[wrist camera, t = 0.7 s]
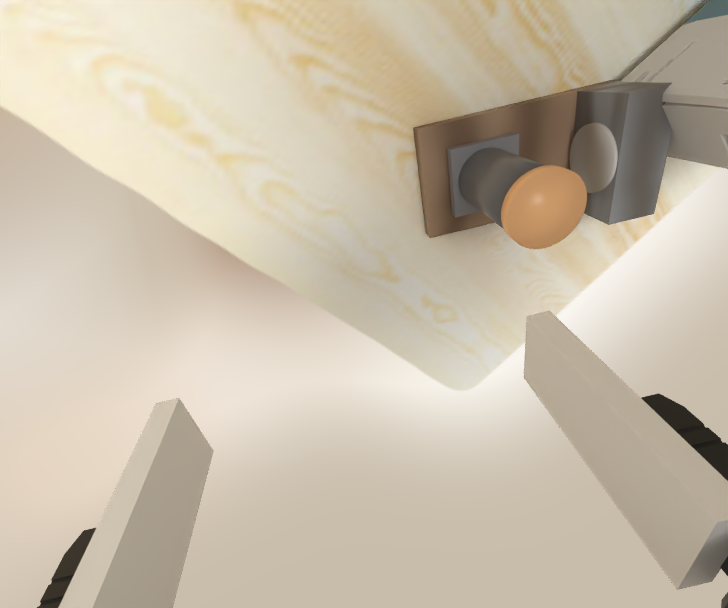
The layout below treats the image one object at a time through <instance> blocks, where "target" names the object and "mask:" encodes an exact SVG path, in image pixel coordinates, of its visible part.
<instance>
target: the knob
mask: <svg viewBox="0 0 728 608" xmlns="http://www.w3.org/2000/svg"><path fill="white" fill-rule="evenodd" d="M447 155H448V168H449V181H450V194H451V207H452V215H453V216H455V217H460V216H464V215H468V214H472V213H476V212H480V211H481V212H482V213H484V214H485V215H486V216H488V217H489V218H490V219H492V220H493V221H494V222H496V223H497V224H498V225H499V226H501V227H502V228H503V229H504V230H505V232H506V233H507V234H508V236H509V237H511V238H512V239H513V240H514V241H516V242H517V243H518V244H520V245H521V246H524V247H526V248H530V249H541V248H546V247H549V246H552V245H554V244H556V243H558V242H560V241H561V240H563V239H564V238H565V237H566V236H568V235H569V234H570V233H571V232H572V231H573V230H574V228H575V227H576V226H577V224H578V223H579V221H580V220H581V218H582V216H583V213H584V211H585V207H586V203H587V191H586V186H585V184H584V182H583V180H582V179H581V177H580V176H579V175H578V174H576V173H575V172H573V171H571V170H569V169H566V168H563V167H560V166H556V165H544V164H541V163H538V162H535V161H532V160H530V159H527V158H524V157H521V156H519V134H518V133H514V132H513V133H509V134H505V135H501V136H497V137H493V138H488V139H484V140H480V141H476V142H472V143H468V144H464V145H459V146H455V147H451V148H447Z"/></svg>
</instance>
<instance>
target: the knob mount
mask: <svg viewBox="0 0 728 608" xmlns="http://www.w3.org/2000/svg"><path fill="white" fill-rule="evenodd" d="M671 84H672V83H655V82H624V81H621V80H610V81H606V82H602V83H598V84H594V85H589V86H585V87H581V88H577V89H573V90H569V91H564V92H560V93H556V94H552V95H548V96H544V97H539V98H535V99H531V100H527V101H523V102H519V103H514V104H510V105H506V106H502V107H498V108H494V109H489V110H485V111H481V112H477V113H473V114H469V115H464V116H460V117H456V118H452V119H448V120H444V121H439V122H435V123H431V124H427V125H423V126H419V127H414V137H415V145H416V153H417V162H418V170H419V179H420V187H421V195H422V204H423V212H424V221H425V229H426V233H427V235H428V236H429V237H430V238H432V237H436V236H440V235H445V234H449V233H453V232H457V231H461V230H465V229H469V228H474V227H478V226H482V225H486V224H490V223H494V221H493V220H492V219H490V218H489V217H488V216H486V215H485V214H484V213H482V212H481V211H480V212H476V213H472V214H468V215H464V216H460V217H455V216H453V215H452V207H451V194H450V181H449V168H448V155H447V148H451V147H455V146H459V145H464V144H468V143H472V142H476V141H480V140H484V139H488V138H493V137H497V136H501V135H505V134H509V133H513V132H514V133H518V134H519V156H521V157H524V158H527V159H530V160H532V161H535V162H538V163H541V164H544V165H556V166H560V167H563V168H566V169H569V170H571V171H573V172H575V173H576V174H578V175H579V176H580V177H581V179H582V180H583V182H584V184H585V186H586V191H587V203H586V207H585V211H584V213H585V214H587V215H589V216H591V217H593V218H595V219H598V220H600V221H602V222H604V223H606V224H608V225H610V224H614V223H618V222H622V221H626V220H630V219H635V218H639V217H643V216H647V215H651V214H654V211H655V207H656V202H657V198H658V193H659V189H660V184H661V180H662V175H663V171H664V166H665V162H666V157H667V153H668V148H669V144H670V139H671V134H672V128H671V125H670V123H669V121H668V118H667V116H666V114H665V111H664V109H663V107H662V106H663V105H664V104H665V103H666V102H662V98H663V93H664V92H665V90H666V89H667V88H668V87H669V86H670V85H671Z"/></svg>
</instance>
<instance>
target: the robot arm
mask: <svg viewBox="0 0 728 608" xmlns="http://www.w3.org/2000/svg"><path fill="white" fill-rule="evenodd" d="M524 379H525V380H526V381H527V383H528V384H529V385H530V387H531V388H532V390H533V391H534V392H535V394H536V395H537V396H538V398H539V399H540V401H541V402H542V403H543V405H544V406H545V408H546V409H547V410H548V411H549V413H550V415H551V416H552V417H553V419H554V420H555V421H556V423H557V424H558V425H559V427H560V428H561V430H562V431H563V432H564V434H565V435H566V437H567V438H568V439H569V441H570V442H571V443H572V445H573V446H574V448H575V449H576V450H577V452H578V453H579V455H580V456H581V457H582V459H583V460H584V462H585V463H586V464H587V466H588V467H589V468H590V470H591V471H592V473H593V474H594V475H595V477H596V478H597V480H598V481H599V482H600V484H601V485H602V486H603V488H604V489H605V490H606V492H607V493H608V495H609V496H610V497H611V499H612V500H613V502H614V503H615V504H616V506H617V507H618V509H619V510H620V511H621V513H622V514H623V515H624V517H625V518H626V519H627V521H628V522H629V524H630V525H631V527H632V528H633V529H634V531H635V532H636V533H637V535H638V536H639V538H640V539H641V540H642V542H643V543H644V544H645V546H646V547H647V549H648V550H649V551H650V553H651V554H652V555H653V557H654V558H655V560H656V561H657V562H658V564H659V565H660V567H661V568H662V569H663V571H664V572H665V573H666V575H667V576H668V578H669V579H670V580H671V582H672V583H673V584H674V586H675V587H676V589H677V590H678V589H682V588H687V587H691V586H695V585H699V584H703V583H708V582H712V581H713V579H714V578H715V577H716V575H717V574H718V572H719V570H720V569H722V570H723V571H724V572H725V573H726V575H727V576H728V445H727V444H726V443H722V441H721V439H720V438H719V437H718V436H717V435H716V434H715V433H714V432H712V431H711V430H710V429H709V428H705V426H704V424H703V423H702V422H701V421H700V420H699V419H697V418H696V417H695V416H694V415H693V414H692V413H691V412H689V411H688V410H687V409H686V408H685V407H684V406H682V405H680V404H678V403H676V402H674V401H672V400H670V399H668V398H666V397H664V396H663V395H660V394H655V395H651V396H646V397H642V398H640V397H639V396H638V395H637V394H636V393H635V392H634V391H633V390H632V389H631V388H630V387H629V386H628V385H627V384H626V383H625V382H624V381H622V380H621V379H620V378H619V377H618V376H617V375H616V374H615V373H614V372H613V371H612V370H611V369H610V368H609V367H608V366H607V365H606V364H605V363H604V362H603V361H601V359H599V358H598V357H597V356H596V355H595V354H594V353H593V352H592V351H591V350H590V349H589V348H588V347H587V346H586V345H585V344H584V343H583V342H582V341H581V340H580V339H579V338H577V337H576V336H575V335H574V334H573V333H572V332H571V331H570V330H569V329H568V328H567V327H566V326H565V325H564V324H563V323H562V322H561V321H559V319H558V318H557V317H556V316H554V315H553V314H552V313H551V312H550V311H547V312H543V313H538V314H534V315H530V316H527V323H526V344H525V364H524ZM212 454H213V449H212V448H211V446H210V445H209V443H208V442H207V440H206V439H205V437H204V435H203V434H202V432H201V431H200V429H199V428H198V426H197V425H196V423H195V422H194V420H193V419H192V417H191V416H190V414H189V412H188V411H187V409H186V408H185V406H184V405H183V403H182V402H181V400H180V398H176V399H173V400H168V401H164V402H159V403H156V404H155V406H154V409H153V411H152V413H151V415H150V418H149V419H148V421H147V423H146V425H145V427H144V430H143V432H142V434H141V436H140V438H139V440H138V442H137V444H136V446H135V448H134V450H133V453H132V455H131V457H130V459H129V461H128V463H127V465H126V467H125V469H124V471H123V473H122V476H121V478H120V480H119V482H118V484H117V486H116V488H115V490H114V492H113V495H112V497H111V499H110V501H109V503H108V505H107V507H106V509H105V511H104V513H103V515H102V518H101V520H100V522H99V524H98V526H97V528H93V529H89V530H84V531H83V532H82V533H81V535H80V536H79V537H78V538H77V540H76V541H75V542H74V543H73V545H72V546H71V547H70V548H69V550H68V551H67V552H66V553H65V555H64V557H63V558H62V560H61V562H60V564H59V566H58V568H57V570H56V572H55V574H54V576H53V578H52V583H51V585H48V587H47V589H46V591H45V593H44V595H43V597H42V599H41V601H40V602H41V605H40V606H39V607H37V608H173V604H174V601H175V597H176V593H177V589H178V585H179V581H180V577H181V574H182V570H183V566H184V562H185V558H186V554H187V550H188V547H189V543H190V539H191V535H192V531H193V527H194V524H195V520H196V516H197V512H198V508H199V505H200V501H201V497H202V492H203V489H204V485H205V482H206V478H207V474H208V470H209V466H210V462H211V458H212ZM721 608H728V593H727V594H726V595H725V597H724V598H723V599H722V605H721Z"/></svg>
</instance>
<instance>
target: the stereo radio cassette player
mask: <svg viewBox="0 0 728 608" xmlns="http://www.w3.org/2000/svg"><path fill="white" fill-rule="evenodd" d="M621 81H624V82H655V83H672V84H671V85H670V86H669V87H668V88H667V89H666V90H665V92H664V93H663V98H662V102H666V103H665V104H664V105H663V106H662V107H663V109H664V111H665V114H666V116H667V118H668V121H669V123H670V125H671V128H672V134H671V139H670V144H669V148H668V153H667V156H669V157H674V158H679V159H683V160H688V161H693V162H698V163H703V164H708V165H712V166H717V167H722V168H727V169H728V0H709V1H708V2H707V3H706V4H705V5H704V6H703V7H702V8H700V9H699V10H698V11H697V12H696V13H695V14H694V15H693V16H692V17H691V18H689V19H688V20H687V21H686V22H685V23H684V24H683V25H682V26H681V27H680V28H678V29H677V30H676V31H675V32H674V33H673V34H672V35H671V36H670V37H669V38H667V39H666V40H665V41H664V42H663V43H662V44H661V45H660V46H659V47H658V48H656V49H655V50H654V51H653V52H652V53H651V54H650V55H649V56H648V57H647V58H645V59H644V60H643V61H642V62H641V63H640V64H639V65H638V66H637V67H635V68H634V69H633V70H632V71H631V72H630V73H629V74H628V75H627V76H626V77H624V78H623V79H622V80H621Z"/></svg>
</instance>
